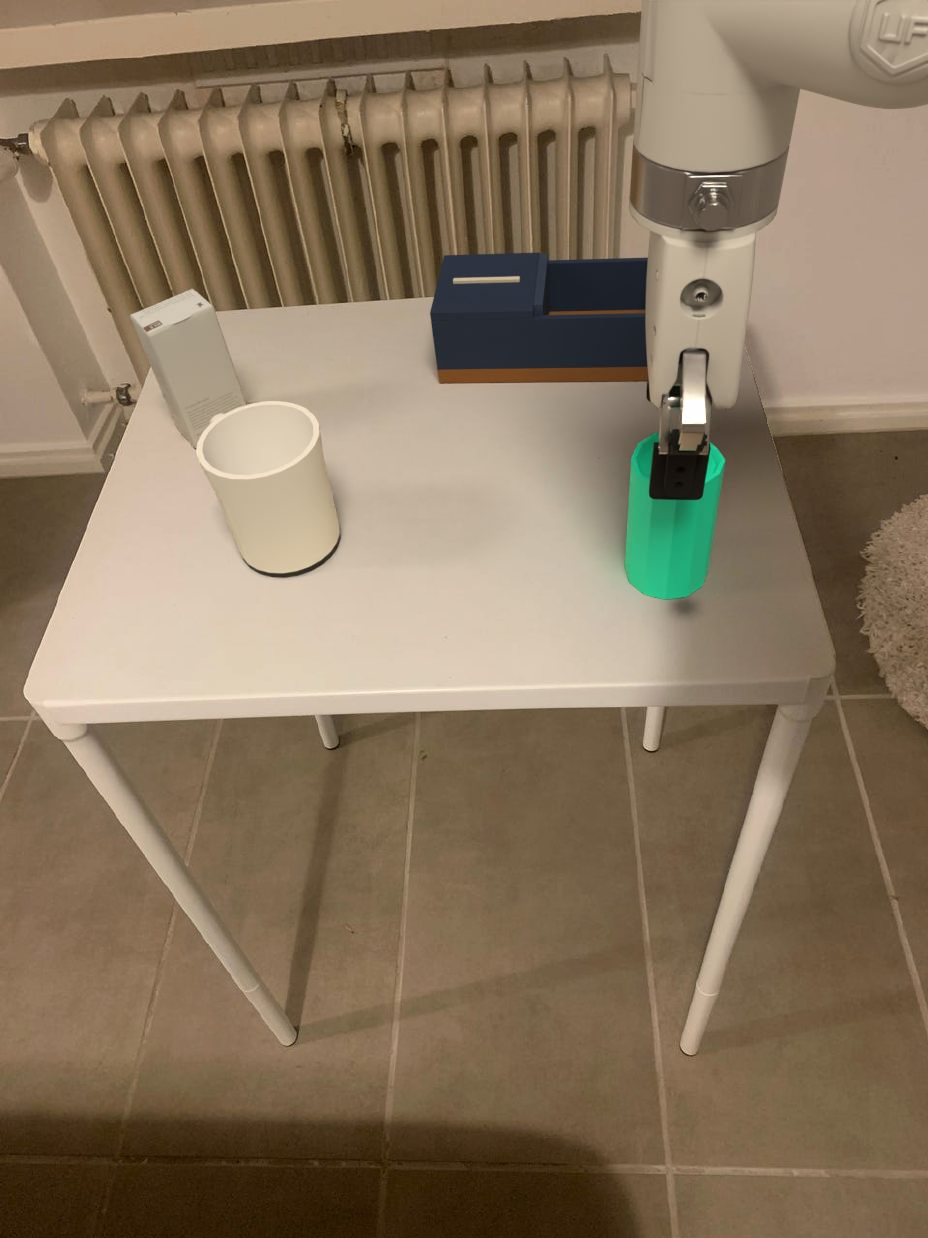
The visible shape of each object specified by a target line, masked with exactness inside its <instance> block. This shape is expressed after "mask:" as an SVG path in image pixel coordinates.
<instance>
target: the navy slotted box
mask: <svg viewBox="0 0 928 1238" xmlns="http://www.w3.org/2000/svg"><path fill="white" fill-rule="evenodd" d="M647 264H648V257H620V258H618V257H616V258H584V259H582V258H581V259H580V258H579V259H549V253H548V252H546V253H545V252H544V253H540V252H538V251H537V252H510V253H509V252H507V253H478V254H475V253H474V254H444V255H443V259H442V262H441V266H440V271H439V274H438V279H437V283H436V287H435V291H434V295H433V298H432V300H433V301H432V302H431V307H430V311H429V316H430V324H431V331H432V332H431V333H432V339H433V346H434V347H433V348H434V355H435V363H436V369H437V376H438V377H437V378H438V383H439V384H480V383H483V384H484V383H486V384H487V383H488V384H489V383H491V384H492V383H493V384H494V383H496V384H497V383H567V382H568V383H575V382H576V383H577V382H578V383H580V382H586V383H587V382H590V383H591V382H647V379H648V365H647V349H646V323H645V319H646V278H647Z"/></svg>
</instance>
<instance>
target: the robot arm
mask: <svg viewBox="0 0 928 1238" xmlns="http://www.w3.org/2000/svg"><path fill="white" fill-rule="evenodd" d="M640 9H641V10H640V11H641V12H640V14H641V15H640V27H639V40H638V41H639V42H638V58H637V73H636V90H635V106H634V119H633V120H634V123H633V139H632V155H631V170H630V186H629V197H628V211H629V214H630V216H631V218H632V219H633V220H634V221H635V222H636V223H637V224H638V225H640V226H641V227H642V228H644V229H646V230H647V231H649V236H648V237H649V238H648V251H647V258H648V264H647V278H646V319H645V323H646V349H647V365H648V379H647V381H646V391H645V394H646V395H645V396H646V400H647V401H648V402H650V403H652V404H653V405H654V406H655V407H656V408H657V409H659V429H658V432H659V442H654V445H653V455H652V464H651V474H650V483H649V496H650V498H652V499H663V500H699V499H701V498H702V496H703V491H704V485H705V479H706V473H707V467H708V461H709V455H710V449H711V447H710V443H709V441H710V439H711V438H710V437H711V423H712V422H711V420H712V405H714V407H715V409H725V410H729V409H731V408H732V407H734V406H735V405H736V403H737V401H738V396H739V387H740V380H741V373H742V364H743V358H744V350H745V344H746V337H747V331H748V330H747V329H748V323H749V317H750V316H749V314H750V307H751V300H752V290H753V282H754V271H755V260H756V244H757V243H756V242H757V232H759V231H760V230H763V229H764V228H766V227H767V226H768V225H770V223H771V222H772V221H774V219H775V217H776V216H777V214H778V208H779V203H780V199H781V193H782V189H783V183H784V178H785V172H786V167H787V163H788V158H789V157H788V156H789V151H790V144H791V140H792V137H793V136H792V135H793V129H794V124H795V119H796V113H797V108H798V103H799V98H800V94H801V93H800V92H801V90H804V91H807V92H810V93H813V94H814V93H815V94H817V95H821V96H824V97H828V98H831V99H835V100H837V101H838V100H839V101H842V102H846V103H850V104H854V105H858V106H861V107H862V106H863V107H867V108H873V109H884V110H903V109H914V108H919V107H922V106H928V0H641V8H640ZM672 410H679V419H678V425H677V426H678V428H672V429H671V418H672Z"/></svg>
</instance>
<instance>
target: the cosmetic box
mask: <svg viewBox="0 0 928 1238" xmlns="http://www.w3.org/2000/svg"><path fill="white" fill-rule="evenodd" d="M129 318H130V320H131V321H130V322H131V323H132V325H133V328H134V330H135V333H136V335H137V337H138V340H139V342H140V344H141V347H142V349H143V351H144V354H145V356H146V358H147V361H148V363H149V365H150V368H151V370H152V373H153V375H154V377H155V379H156V382H157V384H158V387H159V389H160V392H161V394H162V397H163V399H164V401H165V403H166V405H167V408H168V410H169V413H170V415H171V418H172V420H173V422H174V424H175V425H174V426H175V427H176V428H177V429H178V431H179V432H180V433H181V434H182V436H183V437H184V438H185V439H186V440H187V441H188V442H189V444H190V445H191V446H192V447H193V448H194V449H197V442H198V440H199V439H200V437H201V435H202V433H203V432H204V430H205V429H206V428H207V427H208V426H209V425H210V420H211V419H212V418H213V417H214V416H215V415H217V414H220V413H223V414H225V413H228V412H230V411H232V410H234V409H236V408H239V407H242V406H245V405H248V404H247V402H246V398H245V395H244V392H243V389H242V387H241V384H240V381H239V378H238V374H237V372H236V369H235V365H234V363H233V360H232V357H231V354H230V351H229V348H228V345H227V342H226V339H225V336H224V333H223V330H222V328H221V326H220V322H219V320H218V315H217V313H216V309H215V307H214V305H213V304H211V303H210V302H209V301H208V300H207V299H205V298H204V296H202V295H201V294H200V293H199V292H198V291H197V290H196V289H194V288H190V289H188V290H186V291H184V292H182V293H179V294H177V295H174V296H172V297H169V298H167V299H165V300H163V301H159V302H158V303H155V304H153V305H151V306H148V307H146V308H144V309H143V308H142V309H141V310H138V311H137V312H134V313H131V314H130V315H129Z"/></svg>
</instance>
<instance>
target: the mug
mask: <svg viewBox="0 0 928 1238" xmlns="http://www.w3.org/2000/svg"><path fill="white" fill-rule="evenodd" d="M322 442H323V441H322V433H321V426H320V423H319V421H318V420H317V417H316V416H315V415H314V414H313V413H312V412H311V411H310V410H309V409H308V408H306V407H304V406H302V405H299V404H297V403H292V402H288V401H284V400H279V401H278V400H266V401H259V402H252V403H249V404H247V405H245V406H242V407H239V408H236V409H234V410H232V411H230V412H228V413H225V414H223V413H220V414H217V415H215V416H214V417H213V418H212V419H211V420H210V425H209V426H208V427H207V428H206V429H205V430H204V432H203V433H202V435H201V437H200V439H199V440H198V442H197V448H196V451H195V452H196V456H197V459H198V462H199V465H200V467H201V469H202V470H203V473H204V474H205V476H206V478H207V480H208V482H209V484H210V486H211V488H212V489H213V491H214V493H215V496H216V498H217V500H218V503H219V506H220V508H221V510H222V513H223V515H224V517H225V519H226V523H227V524H228V527H229V529H230V531H231V535H232V536H233V539H234V542H235V543H236V546H237V548H238V550H239V553H240V556H241V558H242V560H243V562H244V563H245V564H246V565H247V566H248V567H249V568H250V569H252V570H254V571H255V572H257V573H259V574H261V575H265V576H268V577H273V578H288V577H297V576H299V575H303V574H305V573H309V572H311V571H313V570H315V569H316V568H318V567H320V566H322V565H323V564H324V563H325V562H326V561H327V560H328V559H329V558H331V556H332V555H333V553H334V552H335V551H336V550H337V548H338V545H339V543H340V539H341V525H340V521H339V517H338V513H337V509H336V504H335V500H334V496H333V491H332V486H331V483H330V478H329V473H328V470H327V469H328V468H327V464H326V461H325V454H324V449H323V443H322Z"/></svg>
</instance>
